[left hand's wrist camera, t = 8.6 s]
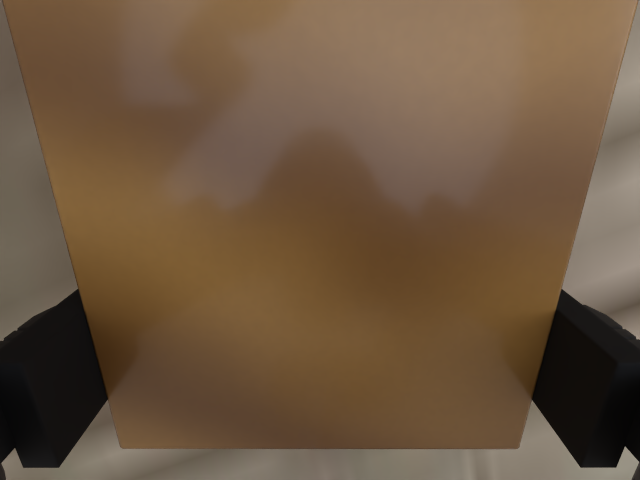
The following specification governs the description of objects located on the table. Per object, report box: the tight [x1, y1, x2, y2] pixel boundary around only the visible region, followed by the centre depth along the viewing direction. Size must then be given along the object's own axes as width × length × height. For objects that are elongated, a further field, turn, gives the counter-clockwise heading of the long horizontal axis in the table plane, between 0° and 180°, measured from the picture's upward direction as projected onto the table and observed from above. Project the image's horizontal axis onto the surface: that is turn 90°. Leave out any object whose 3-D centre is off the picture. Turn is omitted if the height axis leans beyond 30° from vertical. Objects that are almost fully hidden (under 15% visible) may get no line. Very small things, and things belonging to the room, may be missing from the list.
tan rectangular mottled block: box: [2, 0, 638, 449], centre depth 12 cm, size 17×11×11 cm, turn 0°
